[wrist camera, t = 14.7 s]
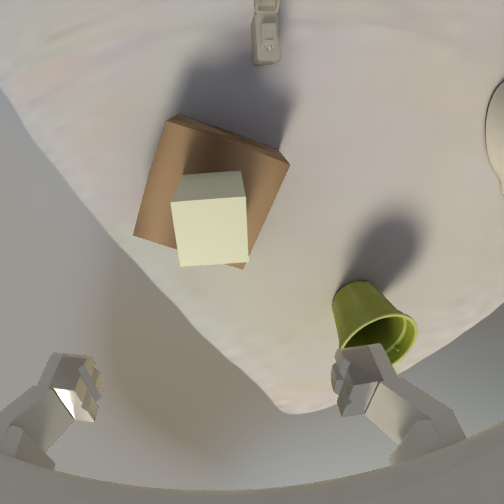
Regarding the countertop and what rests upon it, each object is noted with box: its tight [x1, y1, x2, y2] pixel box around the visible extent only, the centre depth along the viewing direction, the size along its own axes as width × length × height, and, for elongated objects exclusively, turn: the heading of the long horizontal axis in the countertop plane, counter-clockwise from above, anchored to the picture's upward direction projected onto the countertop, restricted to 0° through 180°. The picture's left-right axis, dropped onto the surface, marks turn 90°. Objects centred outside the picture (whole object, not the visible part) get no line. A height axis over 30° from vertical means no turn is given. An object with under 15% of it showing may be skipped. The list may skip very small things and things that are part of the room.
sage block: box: [170, 171, 249, 267], centre depth 23 cm, size 4×4×6 cm
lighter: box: [251, 0, 280, 65], centre depth 20 cm, size 7×2×8 cm, turn 3°
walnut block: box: [133, 115, 290, 269], centre depth 28 cm, size 10×10×6 cm
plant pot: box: [332, 281, 418, 366], centre depth 35 cm, size 9×9×9 cm
